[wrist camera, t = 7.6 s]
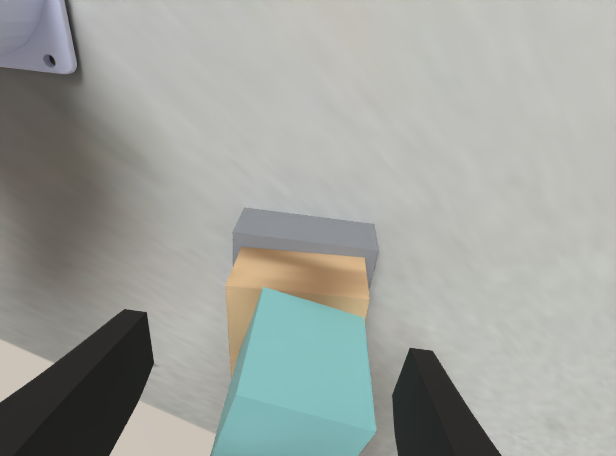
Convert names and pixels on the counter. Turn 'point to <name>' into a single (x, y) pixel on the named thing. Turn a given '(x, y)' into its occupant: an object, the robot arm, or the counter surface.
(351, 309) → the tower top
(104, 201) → the counter surface
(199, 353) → the counter surface
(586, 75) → the counter surface
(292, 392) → the teal block
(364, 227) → the tower base
